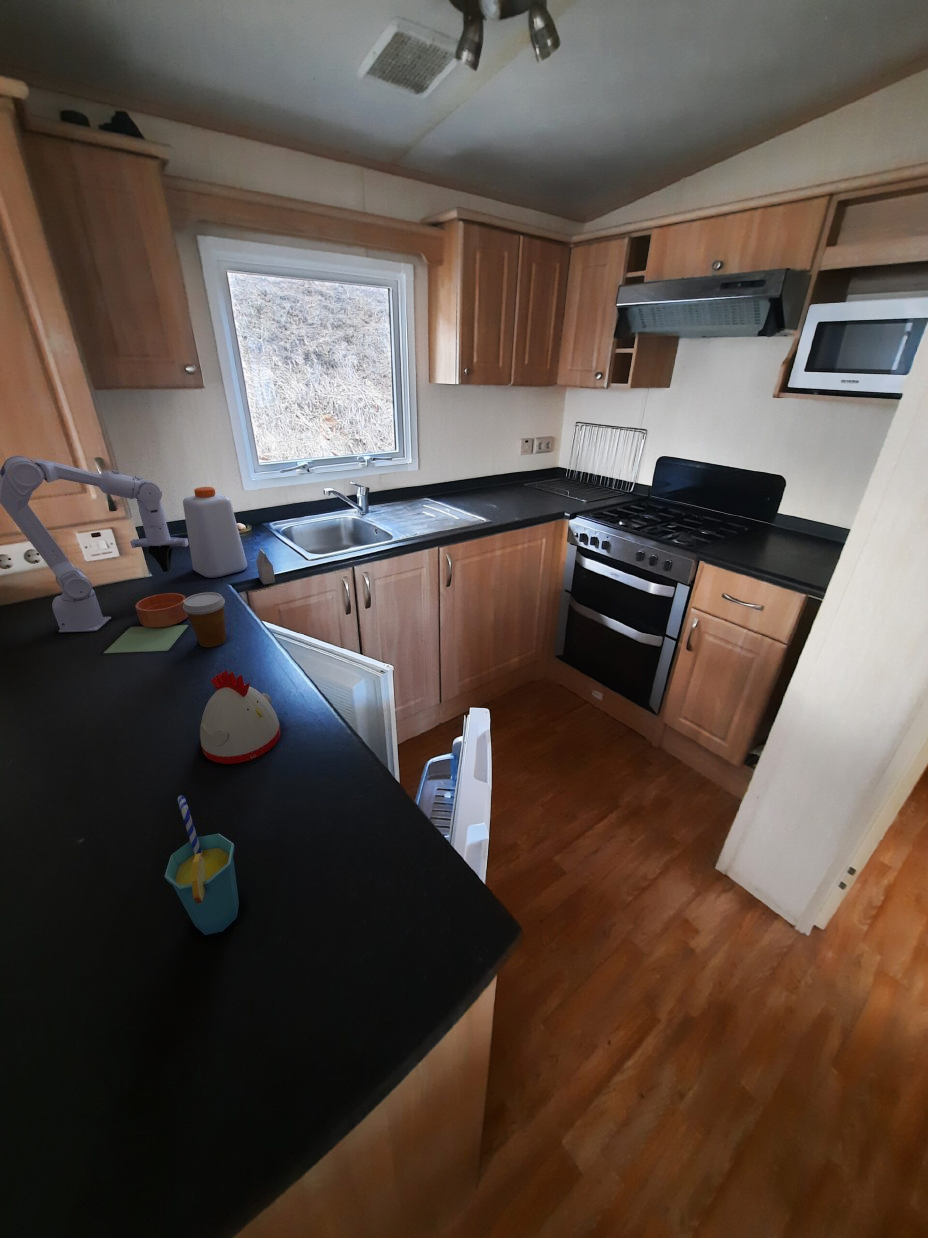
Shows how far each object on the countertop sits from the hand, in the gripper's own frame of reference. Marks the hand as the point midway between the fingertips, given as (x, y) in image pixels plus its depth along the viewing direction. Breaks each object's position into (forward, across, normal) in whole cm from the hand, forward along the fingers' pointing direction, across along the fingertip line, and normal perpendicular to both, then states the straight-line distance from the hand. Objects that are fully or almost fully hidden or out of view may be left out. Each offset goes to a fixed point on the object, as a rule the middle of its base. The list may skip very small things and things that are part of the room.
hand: (167, 570), depth 147 cm
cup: (+10, -42, +101) cm, 110 cm away
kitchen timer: (+11, -36, +66) cm, 76 cm away
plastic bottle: (+11, -5, -28) cm, 30 cm away
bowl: (+10, -2, +11) cm, 15 cm away
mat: (+10, -2, +22) cm, 25 cm away
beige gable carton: (+11, -23, -16) cm, 30 cm away
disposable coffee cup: (+11, -19, +26) cm, 33 cm away
